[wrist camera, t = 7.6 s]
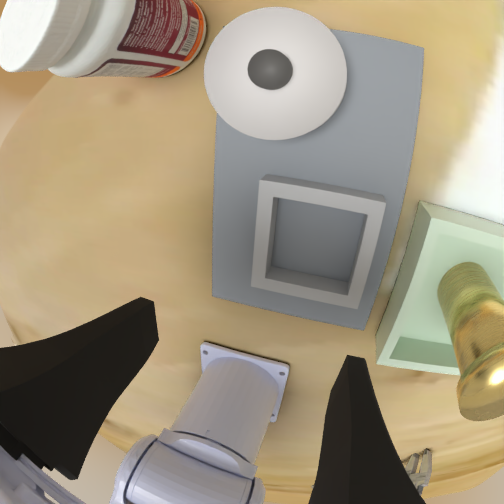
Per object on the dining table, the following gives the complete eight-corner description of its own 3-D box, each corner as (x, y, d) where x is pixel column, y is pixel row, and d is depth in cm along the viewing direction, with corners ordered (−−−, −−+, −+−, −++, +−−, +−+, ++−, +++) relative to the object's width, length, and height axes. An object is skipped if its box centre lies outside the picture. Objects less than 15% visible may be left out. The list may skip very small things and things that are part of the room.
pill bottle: (181, -18, 13) (52, -71, 4) (227, 40, 15) (89, -12, 5) (119, 38, 16) (-16, 32, 7) (155, 96, 18) (7, 113, 8)
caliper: (427, 445, 25) (427, 490, 20) (431, 447, 25) (431, 491, 20) (311, 484, 36) (302, 517, 31) (316, 486, 36) (307, 519, 31)
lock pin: (475, 321, 17) (509, 420, 9) (422, 312, 18) (442, 420, 10) (502, 263, 15) (560, 354, 7) (445, 249, 16) (494, 349, 8)
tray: (484, 351, 18) (493, 377, 16) (375, 335, 21) (376, 363, 18) (539, 237, 13) (559, 257, 11) (419, 200, 16) (431, 217, 13)
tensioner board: (363, 319, 20) (363, 356, 17) (218, 287, 23) (196, 317, 20) (419, 44, 12) (436, 28, 9) (231, 23, 14) (204, 6, 11)
